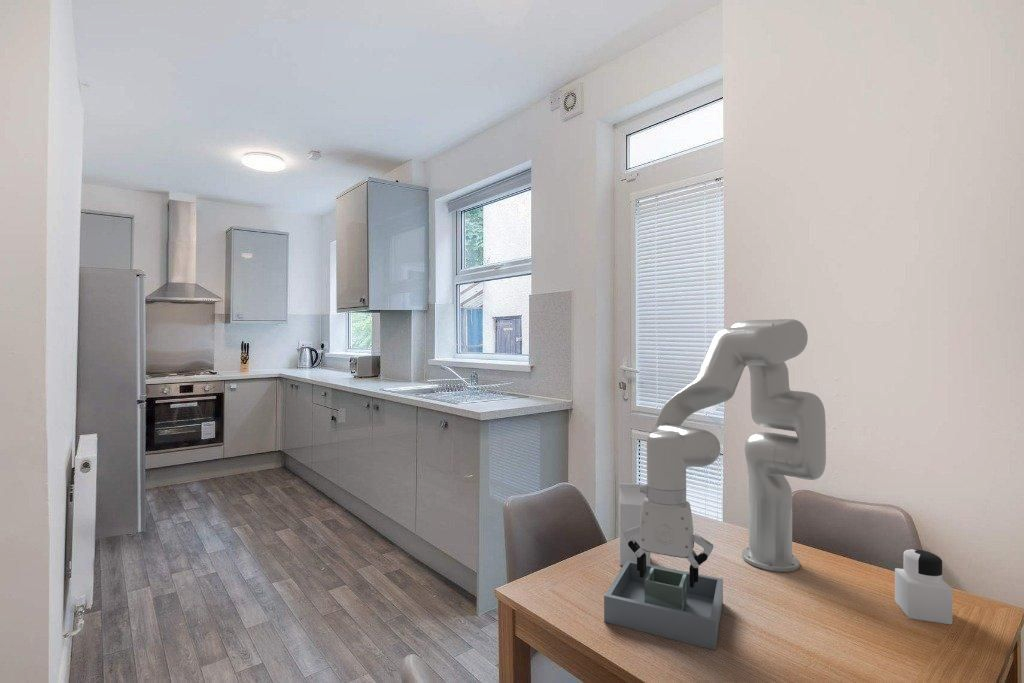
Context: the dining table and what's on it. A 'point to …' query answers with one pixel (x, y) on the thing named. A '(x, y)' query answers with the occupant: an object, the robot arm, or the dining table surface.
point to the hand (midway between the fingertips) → (667, 579)
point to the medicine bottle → (923, 588)
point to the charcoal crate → (684, 626)
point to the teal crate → (666, 588)
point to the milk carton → (630, 518)
